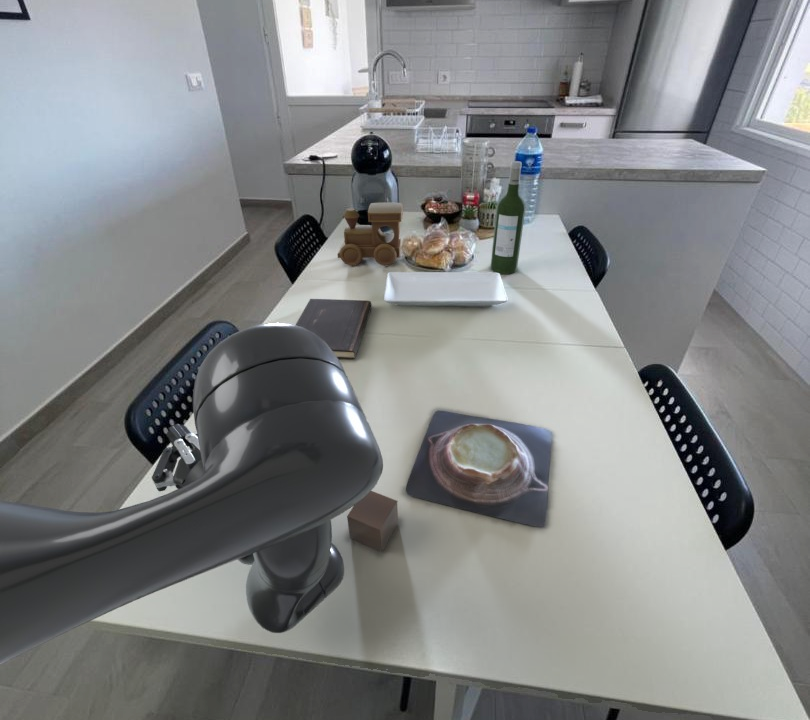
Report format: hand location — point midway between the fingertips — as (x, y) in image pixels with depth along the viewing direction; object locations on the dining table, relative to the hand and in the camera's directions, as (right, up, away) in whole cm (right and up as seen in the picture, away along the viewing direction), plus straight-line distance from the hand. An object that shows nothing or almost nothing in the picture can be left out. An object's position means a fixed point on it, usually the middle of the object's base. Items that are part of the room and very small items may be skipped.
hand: (174, 430), depth 69 cm
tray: (+46, +28, +51) cm, 74 cm away
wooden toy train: (+25, +42, +72) cm, 87 cm away
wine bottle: (+66, +38, +65) cm, 100 cm away
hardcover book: (+18, +18, +38) cm, 46 cm away
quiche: (+49, -6, +4) cm, 49 cm away
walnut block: (+32, -13, -6) cm, 35 cm away
